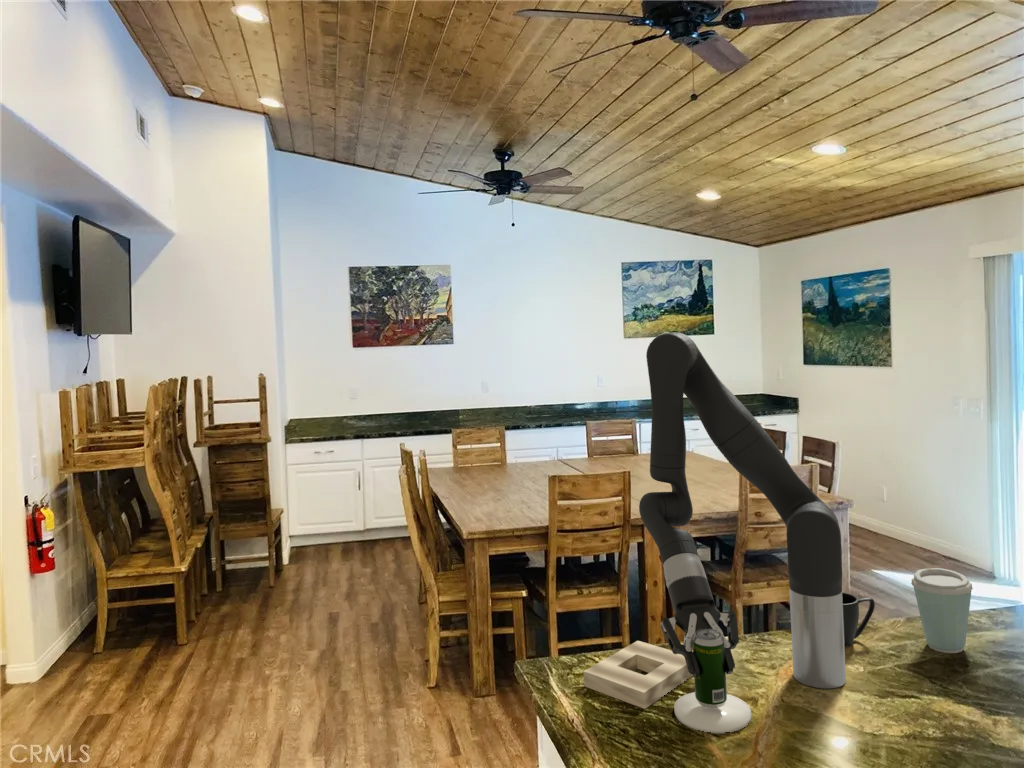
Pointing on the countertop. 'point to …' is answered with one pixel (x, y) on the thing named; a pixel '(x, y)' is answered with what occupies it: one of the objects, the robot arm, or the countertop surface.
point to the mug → (854, 616)
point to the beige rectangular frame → (638, 674)
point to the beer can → (710, 668)
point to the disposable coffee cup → (943, 607)
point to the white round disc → (713, 714)
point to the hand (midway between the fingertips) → (713, 673)
